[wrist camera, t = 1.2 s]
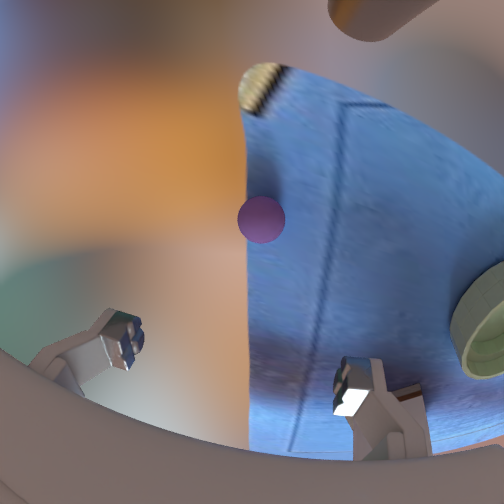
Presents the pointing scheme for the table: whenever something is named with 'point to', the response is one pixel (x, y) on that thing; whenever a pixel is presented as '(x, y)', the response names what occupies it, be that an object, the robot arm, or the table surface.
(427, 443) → the brown-rimmed upright block
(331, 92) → the table surface
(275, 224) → the ball
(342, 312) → the table surface
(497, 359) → the bowl
